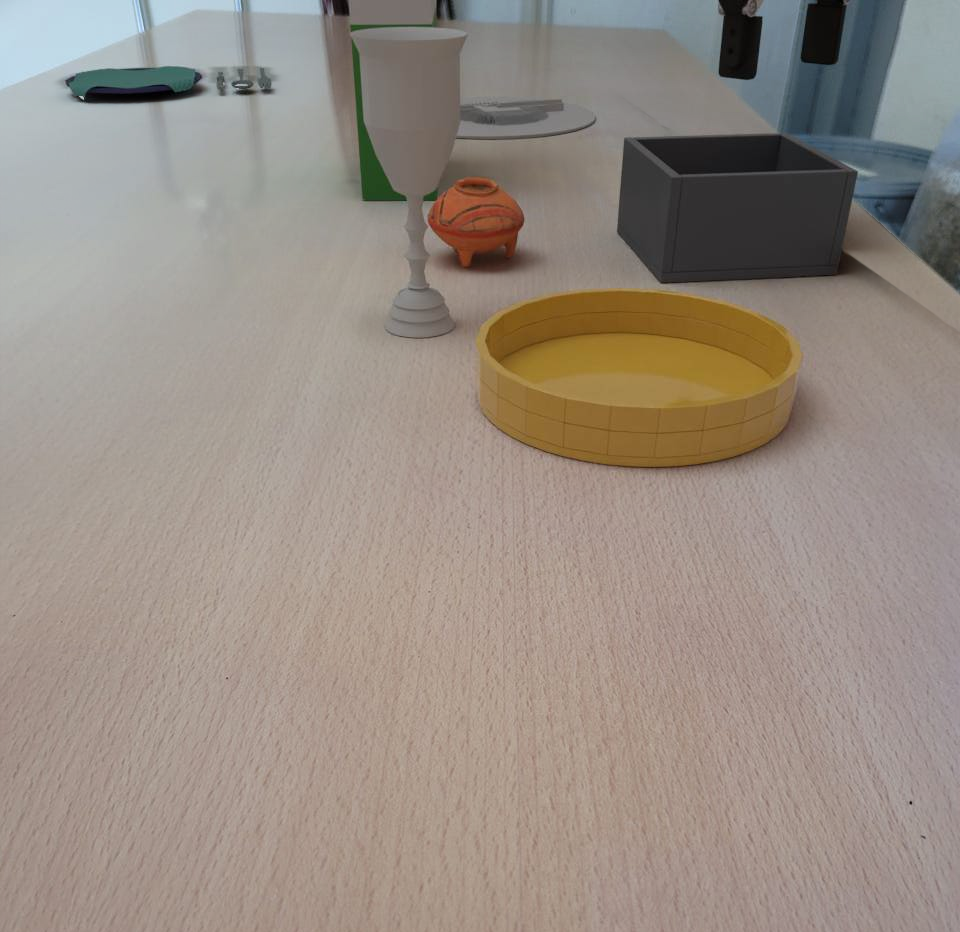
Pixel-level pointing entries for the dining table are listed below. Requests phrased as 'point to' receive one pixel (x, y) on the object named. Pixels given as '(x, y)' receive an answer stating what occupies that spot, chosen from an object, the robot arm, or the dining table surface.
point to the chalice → (412, 143)
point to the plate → (519, 118)
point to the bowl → (636, 376)
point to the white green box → (369, 7)
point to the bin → (733, 206)
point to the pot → (476, 218)
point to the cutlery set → (148, 80)
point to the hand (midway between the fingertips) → (778, 70)
